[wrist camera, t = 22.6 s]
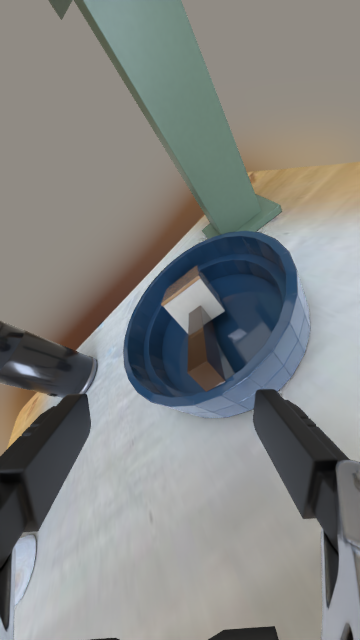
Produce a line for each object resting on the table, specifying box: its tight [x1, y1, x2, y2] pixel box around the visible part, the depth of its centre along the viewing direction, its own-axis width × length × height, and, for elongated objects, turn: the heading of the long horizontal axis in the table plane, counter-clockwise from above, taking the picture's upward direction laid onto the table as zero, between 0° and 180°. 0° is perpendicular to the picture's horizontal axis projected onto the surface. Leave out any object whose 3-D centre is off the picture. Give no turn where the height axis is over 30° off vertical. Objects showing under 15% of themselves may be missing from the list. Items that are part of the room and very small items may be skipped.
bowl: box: [123, 231, 310, 418], centre depth 23 cm, size 22×22×6 cm
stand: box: [49, 0, 282, 239], centre depth 25 cm, size 12×11×32 cm
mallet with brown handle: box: [161, 265, 226, 392], centre depth 20 cm, size 16×6×5 cm, turn 13°
